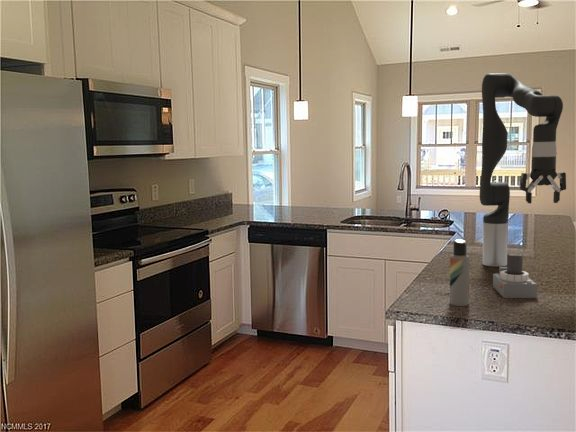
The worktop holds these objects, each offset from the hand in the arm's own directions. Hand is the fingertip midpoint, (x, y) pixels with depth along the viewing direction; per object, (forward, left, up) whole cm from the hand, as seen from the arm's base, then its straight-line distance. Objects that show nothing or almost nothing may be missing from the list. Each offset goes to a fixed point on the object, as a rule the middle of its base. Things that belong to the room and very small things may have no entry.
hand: (542, 203), depth 187 cm
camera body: (+12, -12, -28) cm, 33 cm away
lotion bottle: (+26, -32, -28) cm, 50 cm away
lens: (+12, -12, -24) cm, 29 cm away
